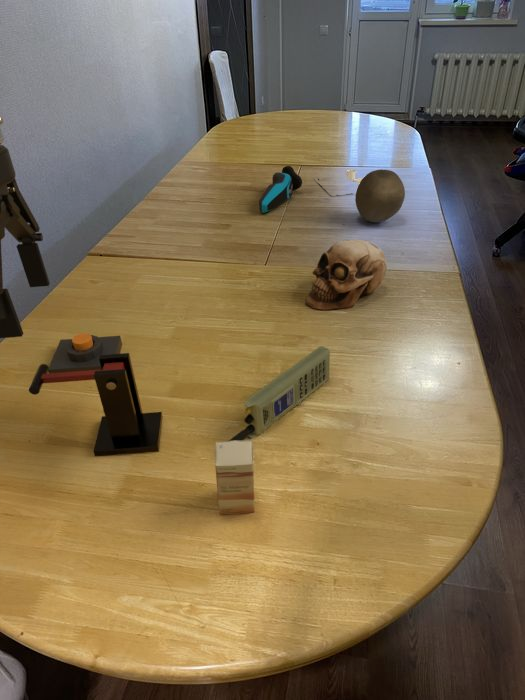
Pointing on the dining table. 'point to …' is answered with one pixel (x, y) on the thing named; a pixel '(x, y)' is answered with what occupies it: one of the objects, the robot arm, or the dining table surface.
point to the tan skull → (346, 274)
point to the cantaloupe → (379, 195)
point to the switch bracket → (123, 412)
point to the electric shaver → (280, 189)
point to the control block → (83, 354)
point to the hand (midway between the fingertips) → (27, 308)
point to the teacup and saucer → (352, 176)
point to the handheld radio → (285, 392)
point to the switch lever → (66, 375)
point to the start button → (82, 342)
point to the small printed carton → (235, 476)
